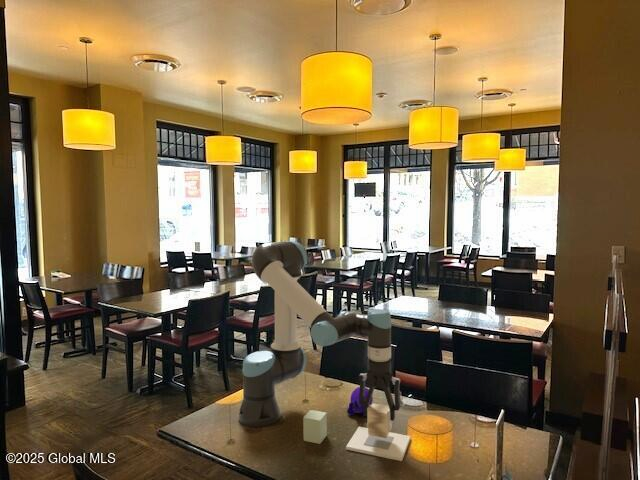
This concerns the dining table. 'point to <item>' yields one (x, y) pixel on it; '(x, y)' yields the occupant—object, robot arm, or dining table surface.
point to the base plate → (379, 444)
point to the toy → (357, 402)
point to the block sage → (315, 426)
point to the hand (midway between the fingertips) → (379, 427)
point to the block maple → (378, 420)
